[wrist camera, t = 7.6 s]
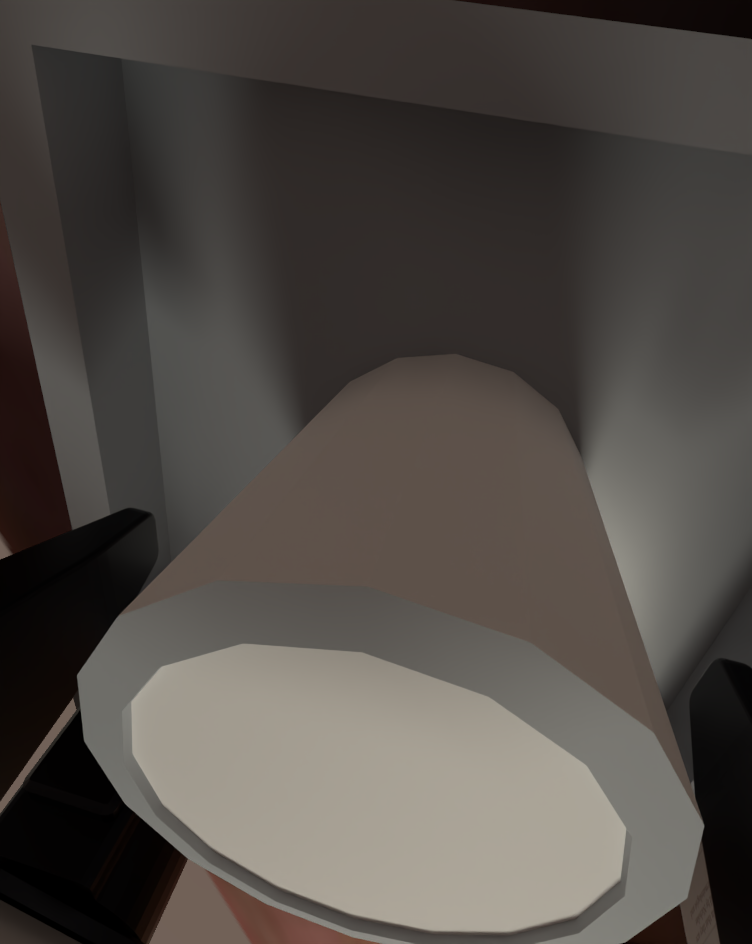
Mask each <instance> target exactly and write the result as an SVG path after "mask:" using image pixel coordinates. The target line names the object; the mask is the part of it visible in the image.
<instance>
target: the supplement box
mask: <svg viewBox="0 0 752 944" xmlns="http://www.w3.org/2000/svg"><path fill="white" fill-rule="evenodd" d="M680 908H681V913H682V918H683V924H684V930H685V934H686V939H687V944H720V942H719V937H718V931H717V925H716V920H715V914H714V908H713V903H712V897H711V891H710V886H709V880H708V875H707V869H706V863H705V858H704V852H703V846H702V841H701V842H700V847H699V851H698V855H697V859H696V863H695V868H694V872H693V876H692V880H691V885H690V889H689V893H688V897H687V899H686V900H684V901H683V902H681V903H680Z"/></svg>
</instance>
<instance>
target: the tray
mask: <svg viewBox="0 0 752 944" xmlns="http://www.w3.org/2000/svg"><path fill="white" fill-rule="evenodd" d="M0 201H1V206H2V210H3V215H4V220H5V224H6V229H7V233H8V238H9V242H10V247H11V252H12V256H13V261H14V265H15V270H16V274H17V279H18V284H19V288H20V293H21V297H22V302H23V306H24V311H25V316H26V320H27V325H28V329H29V334H30V338H31V343H32V347H33V352H34V357H35V361H36V366H37V370H38V375H39V379H40V384H41V389H42V393H43V398H44V402H45V407H46V411H47V416H48V421H49V425H50V430H51V434H52V439H53V443H54V448H55V453H56V457H57V462H58V466H59V471H60V475H61V480H62V485H63V489H64V494H65V498H66V503H67V507H68V512H69V517H70V521H71V526H72V530H74V529H76V528H79V527H81V526H84V525H86V524H89V523H91V522H93V521H96V520H98V519H101V518H103V517H106V516H108V515H110V514H113V513H115V512H118V511H120V510H123V509H125V508H129V507H132V508H137V509H141V510H145V511H149V512H151V513H153V515H154V516H155V519H156V526H157V535H158V544H159V555H158V559H157V561H156V564H155V566H154V567H153V569H152V571H151V573H150V575H149V576H148V578H147V580H146V582H145V584H144V585H143V587H142V589H141V591H140V593H141V592H142V591H143V590H144V589H145V588H146V587H147V586H148V585H149V584H150V583H151V582H152V581H153V580H154V579H155V578H156V577H157V576H158V575H159V574H160V573H161V572H162V571H163V570H164V569H165V568H166V567H167V566H168V565H169V564H170V563H171V562H172V561H173V560H174V559H175V558H176V557H177V556H178V555H179V554H180V553H181V552H182V551H183V550H184V549H185V548H186V547H187V546H188V545H189V544H190V543H191V542H192V541H193V540H194V539H195V538H196V537H197V536H198V535H199V534H200V533H201V532H202V531H203V530H204V529H205V528H206V527H207V526H208V525H209V524H210V523H211V522H212V521H213V520H214V519H215V518H216V517H217V516H218V514H219V513H220V512H221V511H222V510H223V509H224V508H225V507H226V506H227V505H228V504H229V503H230V502H231V501H232V500H233V499H234V498H235V497H236V496H237V495H238V494H239V493H240V492H241V491H242V490H243V489H244V488H245V487H246V486H247V485H248V484H249V483H250V482H251V481H252V480H253V479H254V478H255V477H256V476H257V475H258V474H259V473H260V472H261V471H262V470H263V469H264V468H265V467H266V466H267V465H268V464H269V463H270V462H271V461H272V460H273V459H274V458H275V457H276V456H277V455H278V454H279V453H280V452H281V451H282V450H283V449H284V448H285V447H286V446H287V445H288V444H289V443H290V442H291V441H292V440H293V439H294V438H295V437H296V436H297V435H298V434H299V433H300V432H301V431H302V430H303V429H304V428H305V427H306V425H307V424H308V423H309V422H310V421H311V420H312V419H313V418H314V417H315V416H316V415H317V414H318V413H319V412H320V411H321V410H322V409H323V408H324V407H325V406H326V405H327V404H328V403H329V402H330V401H331V400H332V399H333V398H334V397H335V396H336V395H337V394H338V393H339V392H340V391H341V390H342V389H343V388H344V387H345V386H346V385H347V384H348V383H349V382H350V381H352V380H354V379H356V378H358V377H360V376H362V375H364V374H366V373H368V372H370V371H372V370H374V369H376V368H378V367H380V366H382V365H384V364H386V363H388V362H390V361H392V360H394V359H396V358H402V357H417V356H431V355H446V354H458V355H461V356H464V357H467V358H471V359H474V360H477V361H480V362H483V363H486V364H490V365H493V366H496V367H499V368H502V369H505V370H509V371H512V372H514V373H515V374H517V375H518V376H519V377H520V378H521V379H523V380H524V381H525V382H526V383H527V384H529V385H530V386H531V387H532V388H533V389H535V390H536V391H537V392H538V393H540V394H541V395H542V396H543V397H544V398H546V399H547V400H548V401H549V402H550V403H552V404H553V405H554V406H555V407H556V408H558V409H559V411H560V414H561V416H562V418H563V420H564V422H565V424H566V426H567V428H568V430H569V432H570V434H571V436H572V438H573V440H574V443H575V445H576V447H577V449H578V451H579V453H580V455H581V457H582V460H583V463H584V466H585V469H586V472H587V475H588V478H589V481H590V484H591V487H592V490H593V493H594V496H595V499H596V502H597V505H598V508H599V511H600V514H601V517H602V520H603V523H604V526H605V529H606V532H607V535H608V538H609V541H610V544H611V547H612V550H613V553H614V556H615V559H616V562H617V565H618V568H619V571H620V574H621V577H622V580H623V583H624V586H625V589H626V592H627V595H628V598H629V601H630V604H631V607H632V610H633V613H634V616H635V619H636V622H637V625H638V628H639V631H640V634H641V637H642V640H643V643H644V646H645V649H646V652H647V655H648V658H649V661H650V664H651V667H652V670H653V673H654V676H655V679H656V682H657V685H658V688H659V691H660V694H661V697H662V700H663V703H664V706H665V709H666V712H667V715H668V718H669V721H670V724H671V727H672V730H673V733H674V736H675V739H676V742H677V745H678V748H679V751H680V754H681V757H682V760H683V763H684V766H685V769H686V772H687V775H688V778H689V781H690V784H691V787H692V790H693V793H694V796H695V792H694V777H693V761H692V746H691V730H690V714H689V699H690V695H691V692H692V690H693V688H694V687H695V685H696V684H697V682H698V681H699V679H700V678H701V676H702V675H703V674H704V672H705V671H706V669H707V668H708V666H709V665H710V663H711V662H712V661H713V660H715V659H716V658H726V659H730V660H733V661H737V662H741V663H744V664H747V665H748V666H750V667H751V668H752V39H747V38H739V37H731V36H724V35H716V34H708V33H701V32H693V31H685V30H678V29H670V28H662V27H655V26H647V25H639V24H632V23H624V22H616V21H608V20H601V19H593V18H585V17H578V16H570V15H562V14H555V13H547V12H539V11H532V10H524V9H516V8H509V7H501V6H493V5H486V4H478V3H470V2H462V1H455V0H0ZM140 593H139V594H140Z"/></svg>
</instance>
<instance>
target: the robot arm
mask: <svg viewBox="0 0 752 944" xmlns="http://www.w3.org/2000/svg"><path fill="white" fill-rule="evenodd" d="M158 555H159V544H158V535H157V526H156V519H155V516H154V515H153V513H151V512H149V511H145V510H141V509H137V508H132V507H129V508H125V509H123V510H120V511H118V512H115V513H113V514H110V515H108V516H106V517H103V518H101V519H98V520H96V521H93V522H91V523H89V524H86V525H84V526H81V527H79V528H76V529H74V530H71V531H69V532H67V533H64V534H62V535H59V536H57V537H54V538H52V539H49V540H47V541H45V542H42V543H40V544H37V545H35V546H32V547H30V548H27V549H25V550H23V551H20V552H18V553H15V554H13V555H10V556H8V557H5V558H3V559H1V560H0V801H1V800H2V798H3V797H4V795H5V794H6V792H7V791H8V790H9V788H10V787H11V785H12V784H13V782H14V781H15V780H16V778H17V777H18V775H19V774H20V772H21V771H22V770H23V768H24V767H25V765H26V764H27V762H28V761H29V759H30V758H31V757H32V755H33V754H34V752H35V751H36V750H37V748H38V747H39V745H40V744H41V743H42V741H43V740H44V738H45V737H46V735H47V734H48V732H49V731H50V730H51V728H52V727H53V725H54V724H55V723H56V721H57V720H58V718H59V717H60V715H61V714H62V713H63V711H64V710H65V708H66V707H67V705H68V704H69V703H70V701H71V700H72V698H73V699H74V702H75V706H76V709H77V710H76V712H75V713H74V714H73V716H72V717H71V718H70V720H69V721H68V722H67V724H66V725H65V727H64V728H63V729H62V730H61V732H60V733H59V734H58V736H57V737H56V738H55V739H54V741H53V742H52V743H51V745H50V746H49V748H48V749H47V750H46V751H45V753H44V754H43V755H42V757H41V758H40V759H39V761H38V762H37V763H36V765H35V766H34V767H33V769H32V770H31V771H30V773H29V774H28V775H27V777H26V778H25V780H24V782H23V784H22V785H21V787H20V788H19V789H18V791H17V792H16V793H15V795H14V796H13V797H12V799H11V800H10V801H9V803H8V804H7V805H6V807H5V808H4V809H3V811H2V812H1V813H0V944H149V943H150V941H151V938H152V936H153V934H154V932H155V930H156V928H157V925H158V923H159V921H160V919H161V917H162V914H163V912H164V910H165V908H166V906H167V904H168V901H169V899H170V897H171V895H172V892H173V890H174V888H175V886H176V884H177V882H178V879H179V877H180V875H181V873H182V871H183V869H184V866H185V864H186V862H187V860H188V858H187V857H185V856H184V855H183V854H182V853H181V852H180V851H178V850H177V849H176V848H175V847H174V846H173V845H172V844H170V843H169V842H168V841H167V840H166V839H165V838H164V837H162V836H161V835H160V834H159V833H158V832H157V831H155V830H154V829H153V828H152V827H151V826H150V825H149V824H147V823H146V822H145V821H144V820H143V819H142V818H141V817H139V816H138V815H137V814H136V813H135V812H134V811H133V810H131V809H130V808H129V807H128V806H127V805H126V804H125V803H124V802H123V800H122V799H121V797H120V796H119V794H118V792H117V791H116V789H115V788H114V786H113V785H112V783H111V782H110V780H109V779H108V777H107V776H106V774H105V772H104V771H103V769H102V768H101V766H100V765H99V763H98V762H97V760H96V759H95V757H94V756H93V754H92V753H91V751H90V749H89V748H88V746H87V745H86V743H85V742H84V735H83V726H82V717H81V708H80V698H79V689H78V680H77V675H78V673H79V672H80V670H81V669H82V667H83V666H84V665H85V663H86V662H87V660H88V659H89V657H90V656H91V654H92V653H93V652H94V650H95V649H96V647H97V646H98V644H99V643H100V641H101V640H102V639H103V637H104V636H105V634H106V633H107V631H108V630H109V628H110V627H111V625H112V624H113V623H114V621H115V620H116V618H117V617H118V616H119V615H120V614H121V613H122V612H123V611H124V610H125V609H126V608H127V607H128V606H129V605H130V604H131V602H132V601H133V600H134V599H135V598H136V597H137V596H138V595H139V593H140V591H141V589H142V587H143V585H144V584H145V582H146V580H147V578H148V576H149V575H150V573H151V571H152V569H153V567H154V566H155V564H156V561H157V559H158ZM689 714H690V730H691V746H692V761H693V777H694V792H695V799H696V802H697V805H698V808H699V811H700V814H701V817H702V820H703V823H704V830H703V834H702V838H701V841H702V846H703V852H704V858H705V863H706V869H707V875H708V880H709V886H710V891H711V897H712V903H713V908H714V914H715V920H716V925H717V931H718V937H719V942H720V944H752V668H751V667H750V666H748V665H747V664H744V663H741V662H737V661H733V660H730V659H726V658H716V659H715V660H713V661H712V662H711V663H710V665H709V666H708V668H707V669H706V671H705V672H704V674H703V675H702V676H701V678H700V679H699V681H698V682H697V684H696V685H695V687H694V688H693V690H692V692H691V695H690V699H689Z"/></svg>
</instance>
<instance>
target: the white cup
mask: <svg viewBox="0 0 752 944" xmlns="http://www.w3.org/2000/svg"><path fill="white" fill-rule="evenodd" d="M77 680H78V689H79V698H80V708H81V717H82V726H83V735H84V742H85V743H86V745H87V746H88V748H89V749H90V751H91V753H92V754H93V756H94V757H95V759H96V760H97V762H98V763H99V765H100V766H101V768H102V769H103V771H104V772H105V774H106V776H107V777H108V779H109V780H110V782H111V783H112V785H113V786H114V788H115V789H116V791H117V792H118V794H119V796H120V797H121V799H122V800H123V802H124V803H125V804H126V805H127V806H128V807H129V808H130V809H131V810H133V811H134V812H135V813H136V814H137V815H138V816H139V817H141V818H142V819H143V820H144V821H145V822H146V823H147V824H149V825H150V826H151V827H152V828H153V829H154V830H155V831H157V832H158V833H159V834H160V835H161V836H162V837H164V838H165V839H166V840H167V841H168V842H169V843H170V844H172V845H173V846H174V847H175V848H176V849H177V850H178V851H180V852H181V853H182V854H183V855H184V856H185V857H187V858H188V859H189V860H191V861H193V862H194V863H196V864H198V865H200V866H201V867H203V868H205V869H206V870H208V871H210V872H212V873H213V874H215V875H217V876H219V877H220V878H222V879H224V880H226V881H227V882H229V883H231V884H232V885H234V886H236V887H238V888H239V889H241V890H243V891H245V892H246V893H248V894H250V895H251V896H253V897H255V898H257V899H258V900H260V901H262V902H264V903H265V904H268V905H270V906H273V907H275V908H278V909H281V910H283V911H286V912H289V913H291V914H294V915H296V916H299V917H302V918H304V919H307V920H309V921H312V922H315V923H317V924H320V925H322V926H325V927H328V928H330V929H333V930H336V931H338V932H341V933H343V934H346V935H349V936H351V937H354V938H359V939H364V940H368V941H373V942H377V943H382V944H621V943H625V942H627V941H628V940H629V939H631V938H632V937H634V936H635V935H636V934H638V933H639V932H641V931H642V930H643V929H645V928H646V927H648V926H649V925H650V924H652V923H653V922H655V921H656V920H657V919H659V918H660V917H662V916H663V915H664V914H666V913H667V912H669V911H670V910H671V909H673V908H674V907H676V906H677V905H679V904H680V903H681V902H683V901H684V900H686V899H687V897H688V893H689V889H690V885H691V880H692V876H693V872H694V868H695V863H696V859H697V855H698V851H699V847H700V842H701V838H702V834H703V830H704V823H703V820H702V817H701V814H700V811H699V808H698V805H697V802H696V799H695V796H694V793H693V790H692V787H691V784H690V781H689V778H688V775H687V772H686V769H685V766H684V763H683V760H682V757H681V754H680V751H679V748H678V745H677V742H676V739H675V736H674V733H673V730H672V727H671V724H670V721H669V718H668V715H667V712H666V709H665V706H664V703H663V700H662V697H661V694H660V691H659V688H658V685H657V682H656V679H655V676H654V673H653V670H652V667H651V664H650V661H649V658H648V655H647V652H646V649H645V646H644V643H643V640H642V637H641V634H640V631H639V628H638V625H637V622H636V619H635V616H634V613H633V610H632V607H631V604H630V601H629V598H628V595H627V592H626V589H625V586H624V583H623V580H622V577H621V574H620V571H619V568H618V565H617V562H616V559H615V556H614V553H613V550H612V547H611V544H610V541H609V538H608V535H607V532H606V529H605V526H604V523H603V520H602V517H601V514H600V511H599V508H598V505H597V502H596V499H595V496H594V493H593V490H592V487H591V484H590V481H589V478H588V475H587V472H586V469H585V466H584V463H583V460H582V457H581V455H580V453H579V451H578V449H577V447H576V445H575V443H574V440H573V438H572V436H571V434H570V432H569V430H568V428H567V426H566V424H565V422H564V420H563V418H562V416H561V414H560V411H559V409H558V408H556V407H555V406H554V405H553V404H552V403H550V402H549V401H548V400H547V399H546V398H544V397H543V396H542V395H541V394H540V393H538V392H537V391H536V390H535V389H533V388H532V387H531V386H530V385H529V384H527V383H526V382H525V381H524V380H523V379H521V378H520V377H519V376H518V375H517V374H515V373H514V372H512V371H509V370H505V369H502V368H499V367H496V366H493V365H490V364H486V363H483V362H480V361H477V360H474V359H471V358H467V357H464V356H461V355H458V354H446V355H431V356H417V357H402V358H396V359H394V360H392V361H390V362H388V363H386V364H384V365H382V366H380V367H378V368H376V369H374V370H372V371H370V372H368V373H366V374H364V375H362V376H360V377H358V378H356V379H354V380H352V381H350V382H349V383H348V384H347V385H346V386H345V387H344V388H343V389H342V390H341V391H340V392H339V393H338V394H337V395H336V396H335V397H334V398H333V399H332V400H331V401H330V402H329V403H328V404H327V405H326V406H325V407H324V408H323V409H322V410H321V411H320V412H319V413H318V414H317V415H316V416H315V417H314V418H313V419H312V420H311V421H310V422H309V423H308V424H307V425H306V427H305V428H304V429H303V430H302V431H301V432H300V433H299V434H298V435H297V436H296V437H295V438H294V439H293V440H292V441H291V442H290V443H289V444H288V445H287V446H286V447H285V448H284V449H283V450H282V451H281V452H280V453H279V454H278V455H277V456H276V457H275V458H274V459H273V460H272V461H271V462H270V463H269V464H268V465H267V466H266V467H265V468H264V469H263V470H262V471H261V472H260V473H259V474H258V475H257V476H256V477H255V478H254V479H253V480H252V481H251V482H250V483H249V484H248V485H247V486H246V487H245V488H244V489H243V490H242V491H241V492H240V493H239V494H238V495H237V496H236V497H235V498H234V499H233V500H232V501H231V502H230V503H229V504H228V505H227V506H226V507H225V508H224V509H223V510H222V511H221V512H220V513H219V514H218V516H217V517H216V518H215V519H214V520H213V521H212V522H211V523H210V524H209V525H208V526H207V527H206V528H205V529H204V530H203V531H202V532H201V533H200V534H199V535H198V536H197V537H196V538H195V539H194V540H193V541H192V542H191V543H190V544H189V545H188V546H187V547H186V548H185V549H184V550H183V551H182V552H181V553H180V554H179V555H178V556H177V557H176V558H175V559H174V560H173V561H172V562H171V563H170V564H169V565H168V566H167V567H166V568H165V569H164V570H163V571H162V572H161V573H160V574H159V575H158V576H157V577H156V578H155V579H154V580H153V581H152V582H151V583H150V584H149V585H148V586H147V587H146V588H145V589H144V590H143V591H142V592H141V593H140V594H139V595H138V596H137V597H136V598H135V599H134V600H133V601H132V602H131V604H130V605H129V606H128V607H127V608H126V609H125V610H124V611H123V612H122V613H121V614H120V615H119V616H118V617H117V618H116V620H115V621H114V623H113V624H112V625H111V627H110V628H109V630H108V631H107V633H106V634H105V636H104V637H103V639H102V640H101V641H100V643H99V644H98V646H97V647H96V649H95V650H94V652H93V653H92V654H91V656H90V657H89V659H88V660H87V662H86V663H85V665H84V666H83V667H82V669H81V670H80V672H79V673H78V675H77Z"/></svg>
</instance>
